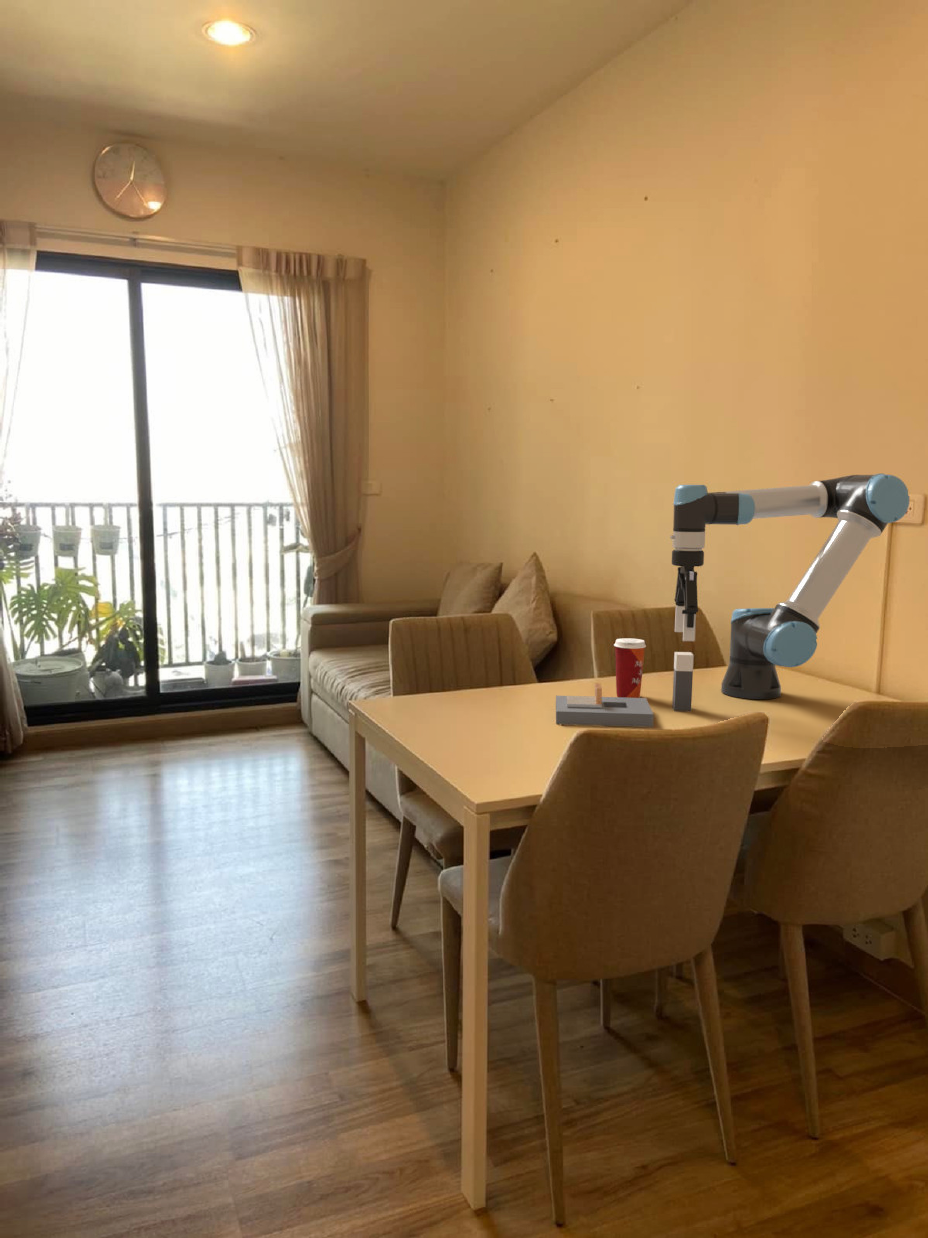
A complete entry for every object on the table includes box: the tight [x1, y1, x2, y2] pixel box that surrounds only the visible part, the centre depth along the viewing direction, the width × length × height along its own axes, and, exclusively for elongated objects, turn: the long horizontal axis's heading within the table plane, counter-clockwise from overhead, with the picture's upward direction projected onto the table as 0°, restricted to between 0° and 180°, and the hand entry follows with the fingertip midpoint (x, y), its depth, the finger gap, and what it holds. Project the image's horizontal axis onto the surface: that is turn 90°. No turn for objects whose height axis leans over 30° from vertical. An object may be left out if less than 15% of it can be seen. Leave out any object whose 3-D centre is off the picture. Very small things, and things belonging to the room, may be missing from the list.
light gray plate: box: [565, 682, 603, 708], centre depth 212 cm, size 8×8×4 cm
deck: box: [555, 695, 654, 728], centre depth 212 cm, size 22×16×3 cm
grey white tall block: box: [671, 651, 695, 712], centre depth 219 cm, size 4×4×14 cm
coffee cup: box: [613, 637, 647, 698], centre depth 232 cm, size 8×8×15 cm
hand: (684, 636), depth 218 cm, fingers open, 13 cm apart
